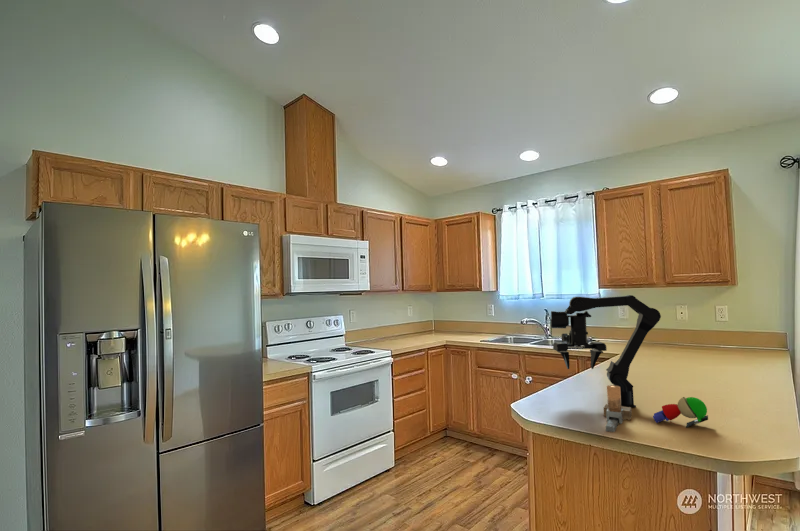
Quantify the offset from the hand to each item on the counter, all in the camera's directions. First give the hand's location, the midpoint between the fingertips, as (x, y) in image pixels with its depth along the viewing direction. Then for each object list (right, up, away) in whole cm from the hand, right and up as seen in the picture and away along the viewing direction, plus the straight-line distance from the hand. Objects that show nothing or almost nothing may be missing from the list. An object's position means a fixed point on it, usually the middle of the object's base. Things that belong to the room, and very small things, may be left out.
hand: (580, 368), depth 163 cm
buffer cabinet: (+5, -12, -18) cm, 23 cm away
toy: (+20, -11, -28) cm, 37 cm away
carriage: (+1, -12, -24) cm, 27 cm away
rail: (-1, -12, -27) cm, 30 cm away
